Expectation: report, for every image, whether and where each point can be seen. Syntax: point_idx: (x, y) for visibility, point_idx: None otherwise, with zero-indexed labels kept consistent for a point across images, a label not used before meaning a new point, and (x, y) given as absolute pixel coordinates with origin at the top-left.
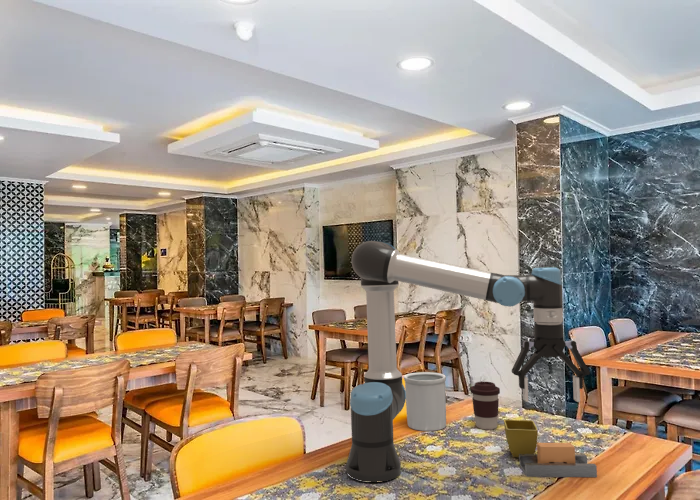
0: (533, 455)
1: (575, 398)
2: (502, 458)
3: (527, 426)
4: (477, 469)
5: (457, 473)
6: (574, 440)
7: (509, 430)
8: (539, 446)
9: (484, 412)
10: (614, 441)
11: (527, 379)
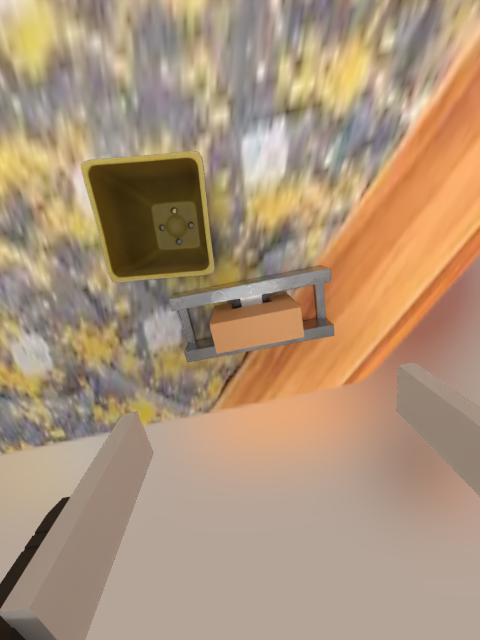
0: (203, 302)
1: (405, 399)
2: None
3: (181, 167)
4: (91, 337)
5: (57, 364)
6: (345, 43)
7: (121, 281)
8: (215, 346)
9: None
10: (474, 26)
11: (85, 634)
